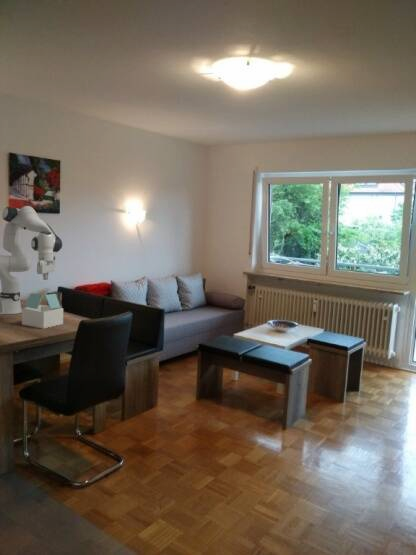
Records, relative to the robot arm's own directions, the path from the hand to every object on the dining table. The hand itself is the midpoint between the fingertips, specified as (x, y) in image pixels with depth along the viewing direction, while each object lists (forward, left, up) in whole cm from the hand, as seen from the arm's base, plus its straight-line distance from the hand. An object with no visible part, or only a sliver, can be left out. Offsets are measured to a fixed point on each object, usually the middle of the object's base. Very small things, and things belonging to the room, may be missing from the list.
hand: (45, 279), depth 276 cm
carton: (+2, -4, -27) cm, 28 cm away
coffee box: (-10, +18, -28) cm, 34 cm away
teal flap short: (+11, -2, -17) cm, 20 cm away
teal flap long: (0, -12, -17) cm, 20 cm away
